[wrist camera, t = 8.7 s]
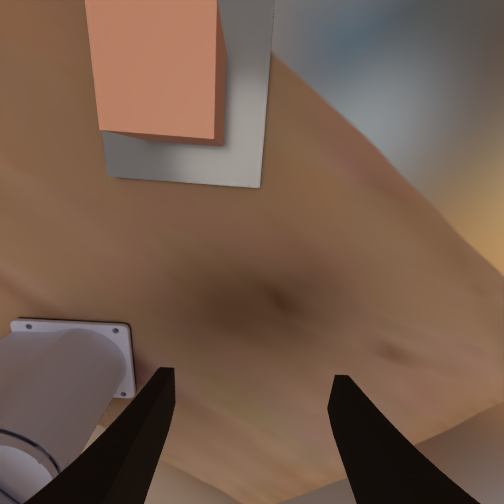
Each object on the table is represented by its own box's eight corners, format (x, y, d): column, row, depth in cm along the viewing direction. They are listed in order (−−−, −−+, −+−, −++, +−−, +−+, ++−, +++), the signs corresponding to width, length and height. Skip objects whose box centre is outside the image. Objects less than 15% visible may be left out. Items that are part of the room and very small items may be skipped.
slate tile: (116, 175, 18) (107, 176, 16) (98, -8, 14) (85, -23, 13) (258, 186, 18) (259, 187, 17) (272, 11, 15) (275, -2, 14)
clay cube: (143, 140, 16) (99, 129, 11) (137, 43, 14) (82, -18, 9) (223, 146, 16) (213, 138, 11) (226, 51, 14) (216, -4, 10)
